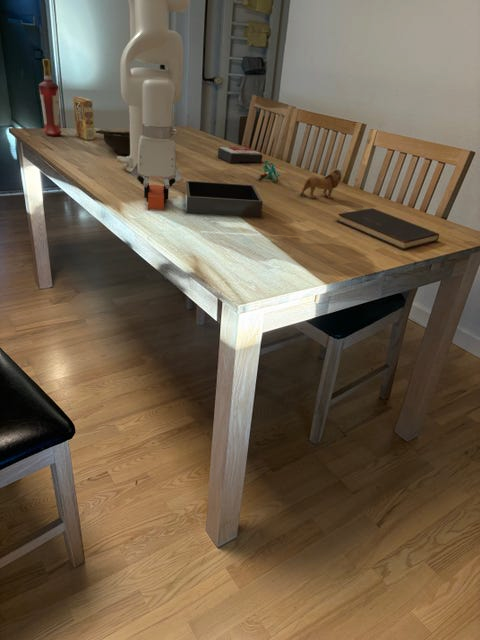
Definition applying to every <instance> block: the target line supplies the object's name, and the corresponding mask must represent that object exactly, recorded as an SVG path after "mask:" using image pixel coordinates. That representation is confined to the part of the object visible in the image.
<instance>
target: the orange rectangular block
mask: <svg viewBox="0 0 480 640" xmlns="http://www.w3.org/2000/svg"><path fill="white" fill-rule="evenodd" d="M149 186H150V190H149V193H148V202H147V210H148V211H150V210H159V211H160V210H161V211H164V210H165V203H164V193H163V189H164V185H161V184H160V185H158V184H149Z"/></svg>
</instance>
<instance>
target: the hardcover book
mask: <svg viewBox="0 0 480 640" xmlns="http://www.w3.org/2000/svg"><path fill="white" fill-rule="evenodd" d="M337 215H338V216H339V217H338V219H337V220H336V222H337V223H339V224H341V225H344V226H346V227H348V228H351V229H353V230H356V231H358V232H360V233H362V234H364V235H367V236H370V237H372V238H374V239H377V240H379V241H381V242H384V243H385V244H388V245H391V246H392V247H395V248H397V249H400V250H401V251H404V250H408V249H413V248H416V247H420V246H424V245H427V244H432V243H436V242H438V240H439V238H440V233H438V232H435V231H433V230H431V229H429V228H425V227H422V226H420V225H418V224H415V223H412V222H410V221H407V220H404V219H402V218H399V217H397V216H394V215H391V214H389V213H386V212H384V211H381V210H379V209H376V208H373V207H372V208H365V209H359V210H353V211H347V212H342V213H341V212H340V213H338V214H337Z"/></svg>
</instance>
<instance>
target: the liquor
mask: <svg viewBox="0 0 480 640" xmlns="http://www.w3.org/2000/svg"><path fill="white" fill-rule="evenodd" d="M42 66H43V75H44V76H43V81H42V82H40V83H39V84H38V88H39V90H38V91H39V97H40V103H41V109H42V116H43V124H44V131H43V132H44V134H46V135H47V136H49V137H59V136H60V135H61V134H62V130H61V120H60V94H59V93H60V91H59V85H58V84H56V83H55V82H54V81H53V78H52V72H51V60H50V59H46V58H43V59H42Z"/></svg>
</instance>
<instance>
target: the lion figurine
mask: <svg viewBox="0 0 480 640" xmlns="http://www.w3.org/2000/svg"><path fill="white" fill-rule="evenodd" d="M342 177H343V176H342V171H341V170H340V169H338V168H334V169H331V170H330V172H329V173H328V174H327V175H326V176H324V177H319V176H316V175H311V176H308V178H307V179H306V181H305V183H304V185H303V188H302V190H301V193H300V194H299V196H300V197H302V196H304V197H305V196H306V193H305V191H307V190H309V189H310V191H309V194H310V197H311V198H312V199H316V198H317V197H316V196H315V195H314V192H315V190H316V189H320V190H323V193H322V197H327V198H328V199H331V200H332V198H333V197H332V196H331V195H332V193H333V189H336V188H337V187H338V186H339V184H340V182H341V180H342ZM327 190H328V191H327ZM327 192H328V193H327Z"/></svg>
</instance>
